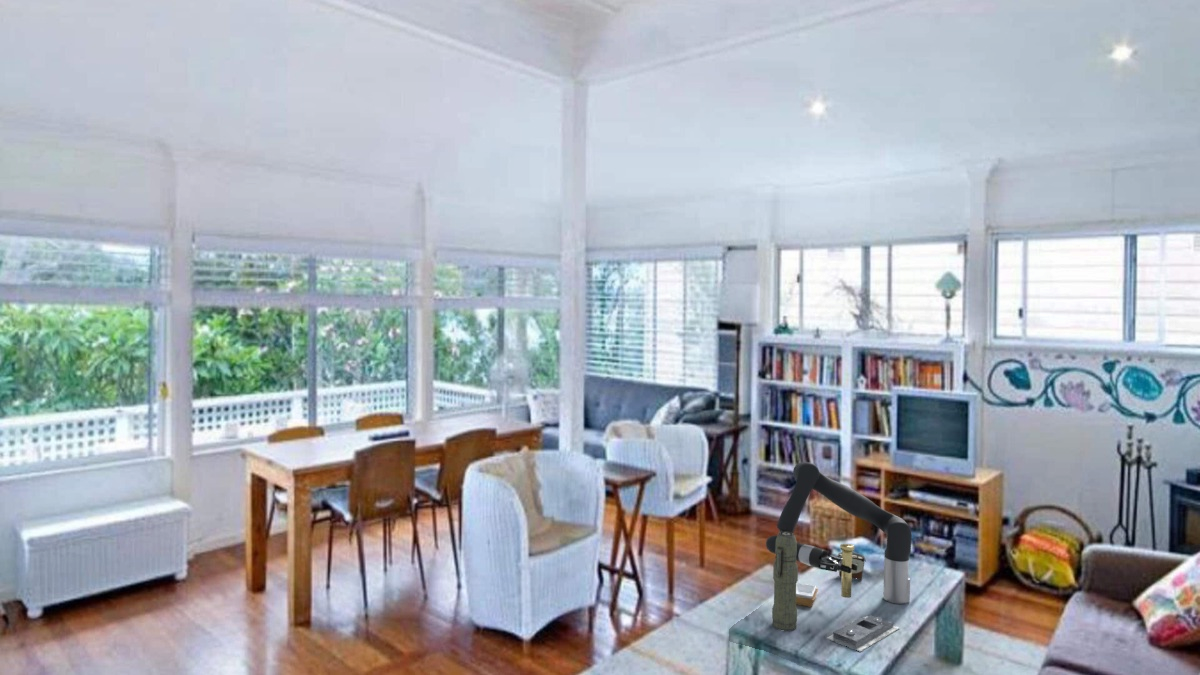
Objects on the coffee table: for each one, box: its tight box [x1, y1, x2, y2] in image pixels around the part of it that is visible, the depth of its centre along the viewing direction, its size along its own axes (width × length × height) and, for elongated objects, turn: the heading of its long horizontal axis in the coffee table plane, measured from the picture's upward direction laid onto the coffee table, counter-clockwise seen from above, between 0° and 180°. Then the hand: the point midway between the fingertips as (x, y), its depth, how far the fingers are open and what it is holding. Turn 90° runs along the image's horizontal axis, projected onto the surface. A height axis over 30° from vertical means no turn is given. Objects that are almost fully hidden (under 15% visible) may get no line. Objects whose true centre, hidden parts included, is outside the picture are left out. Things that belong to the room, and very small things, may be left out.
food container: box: [836, 551, 867, 580], centre depth 322 cm, size 12×6×10 cm, turn 71°
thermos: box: [771, 531, 799, 632], centre depth 271 cm, size 9×12×35 cm
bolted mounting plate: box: [826, 614, 900, 653], centre depth 266 cm, size 28×13×4 cm, turn 131°
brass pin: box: [839, 543, 855, 599], centre depth 273 cm, size 5×5×19 cm
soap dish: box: [796, 582, 819, 608], centre depth 295 cm, size 12×10×5 cm
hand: (853, 569), depth 271 cm, fingers closed on brass pin, 3 cm apart
